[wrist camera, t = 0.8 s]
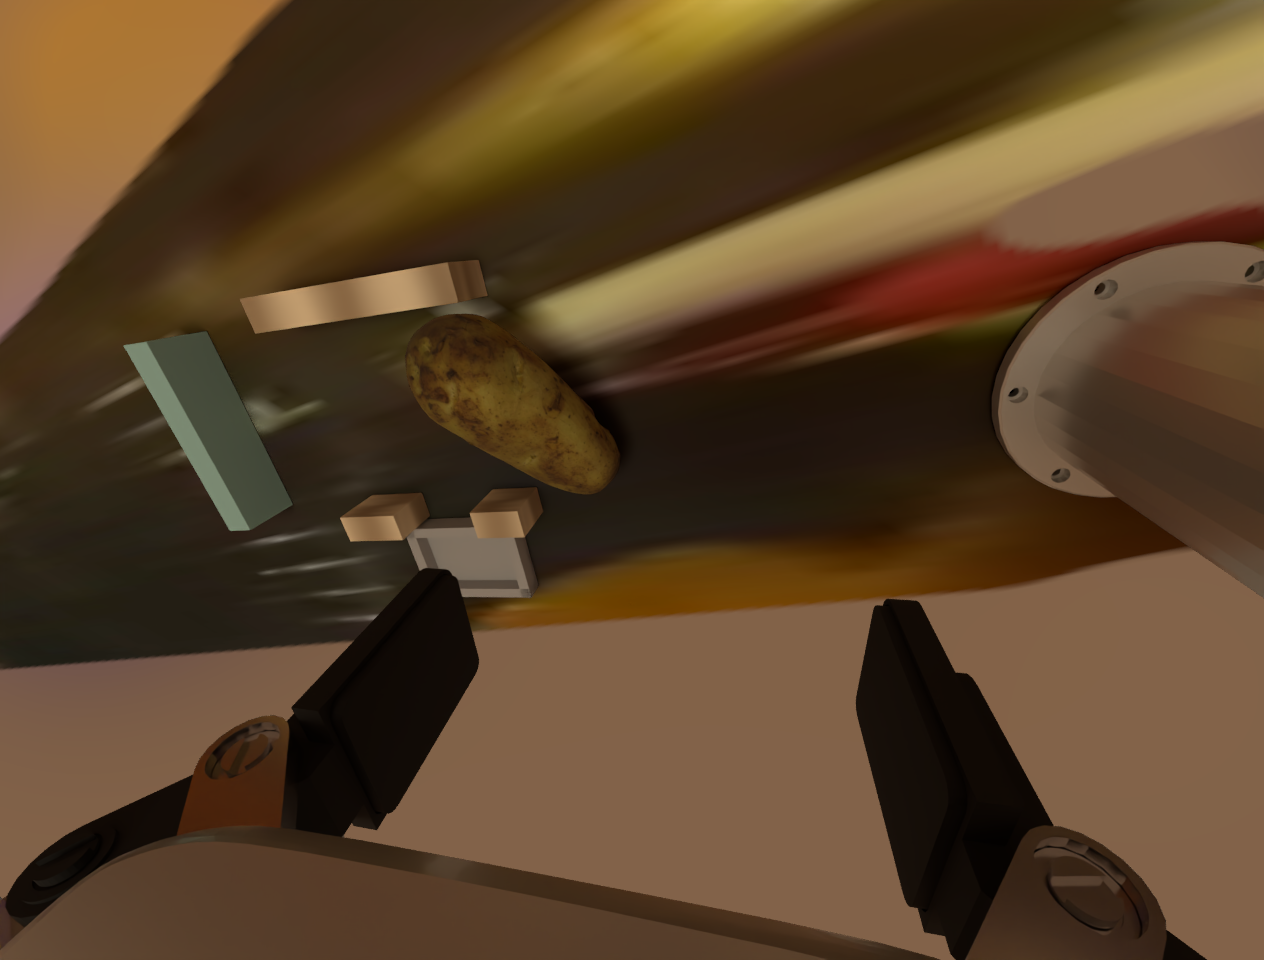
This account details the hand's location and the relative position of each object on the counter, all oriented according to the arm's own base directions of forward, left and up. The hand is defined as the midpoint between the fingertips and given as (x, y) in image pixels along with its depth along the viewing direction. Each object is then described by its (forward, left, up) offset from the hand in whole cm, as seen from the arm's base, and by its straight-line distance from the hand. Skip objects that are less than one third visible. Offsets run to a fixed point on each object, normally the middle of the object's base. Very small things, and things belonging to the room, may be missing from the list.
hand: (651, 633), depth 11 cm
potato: (+11, 0, -21) cm, 24 cm away
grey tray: (+19, +12, -21) cm, 31 cm away
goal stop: (+36, 0, -21) cm, 41 cm away
